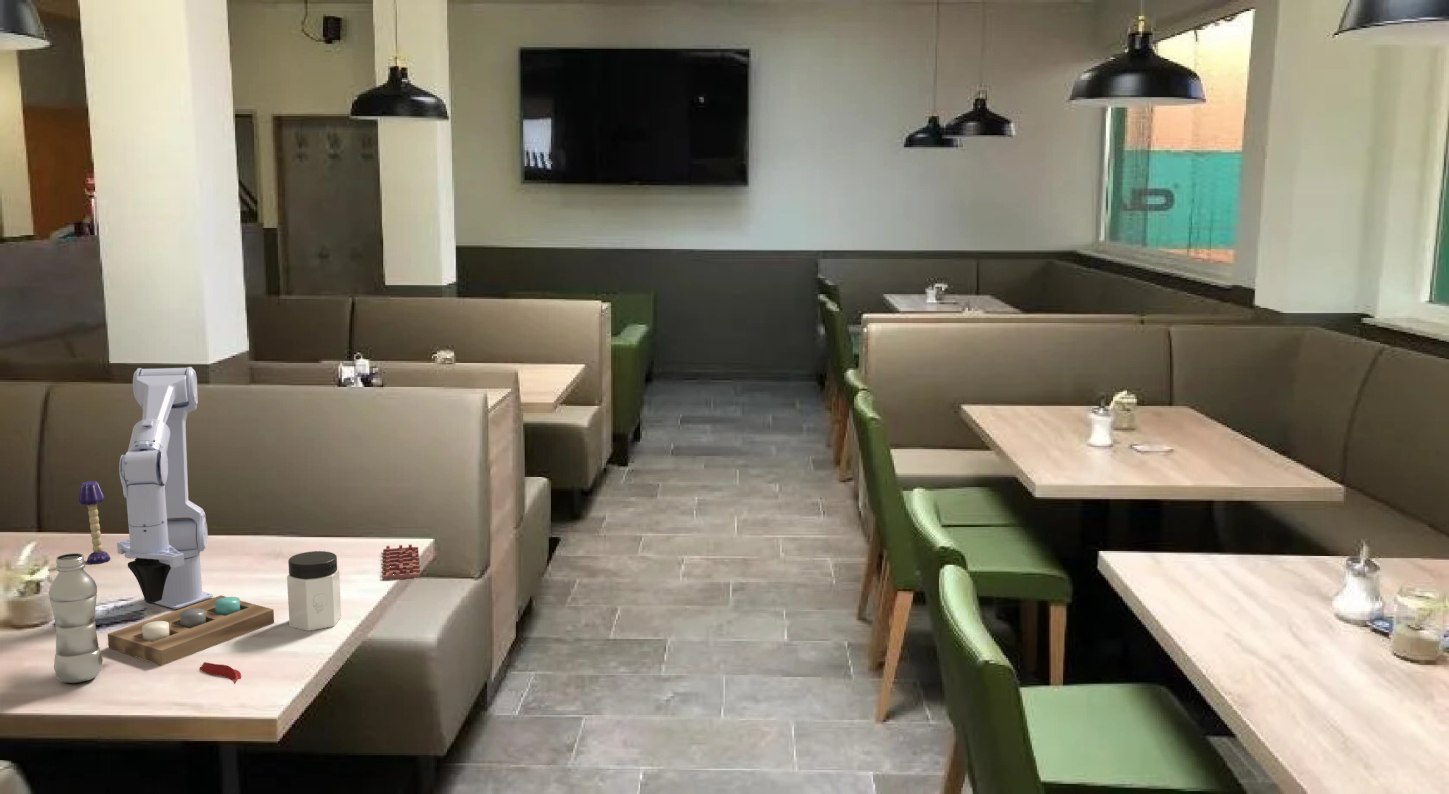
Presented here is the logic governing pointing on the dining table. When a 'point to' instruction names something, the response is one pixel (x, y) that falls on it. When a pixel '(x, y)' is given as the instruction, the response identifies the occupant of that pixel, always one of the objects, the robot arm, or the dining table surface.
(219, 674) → the cayenne pepper
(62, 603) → the plastic bottle
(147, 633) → the ivory key
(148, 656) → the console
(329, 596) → the jar
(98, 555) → the toy lamp
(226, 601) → the teal rounded piece
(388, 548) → the brown woven panel
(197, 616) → the graphite key
